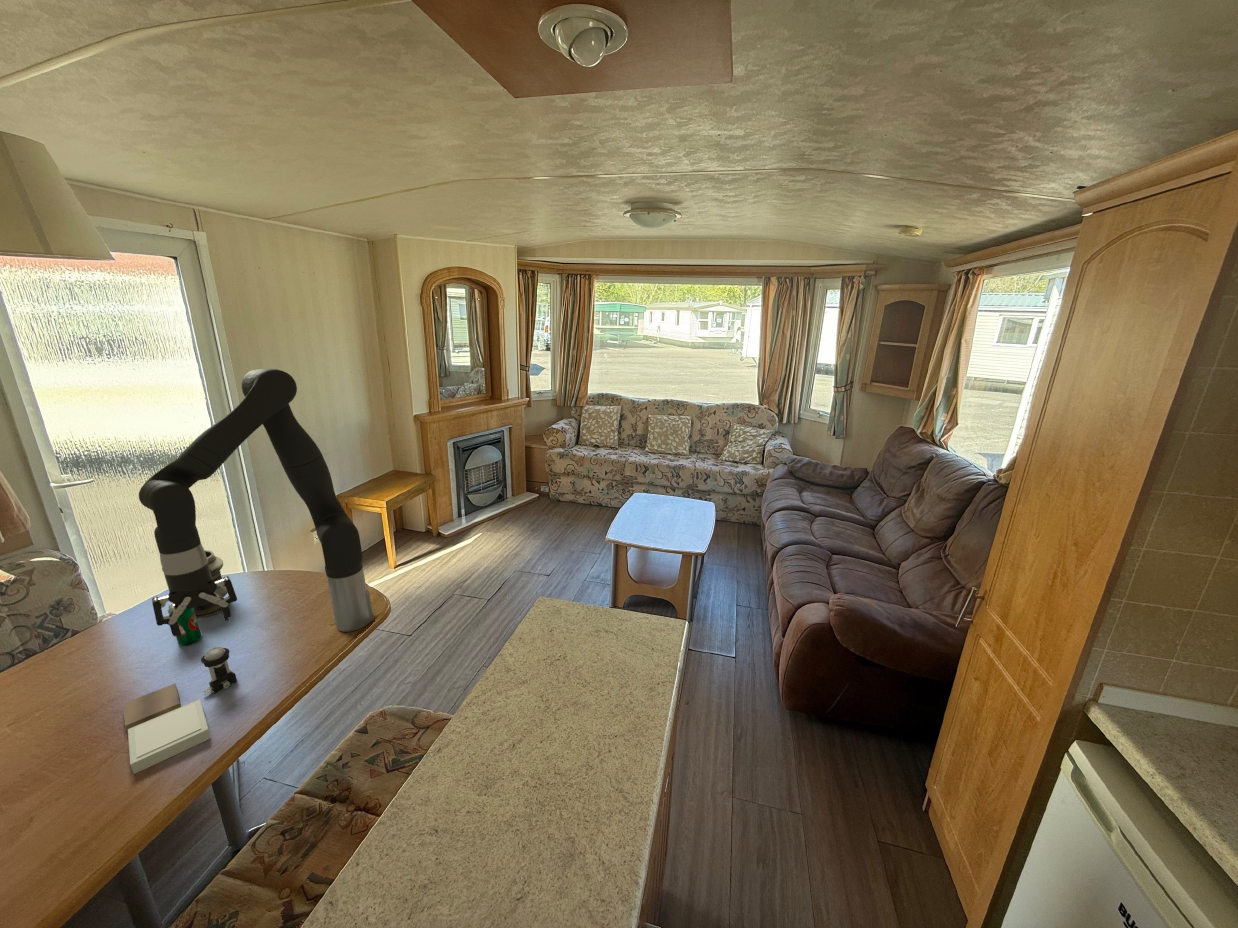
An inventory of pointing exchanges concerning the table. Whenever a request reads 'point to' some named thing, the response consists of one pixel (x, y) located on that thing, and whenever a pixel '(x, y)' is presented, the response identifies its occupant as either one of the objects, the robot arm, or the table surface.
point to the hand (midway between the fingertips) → (203, 627)
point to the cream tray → (167, 735)
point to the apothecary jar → (210, 607)
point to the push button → (218, 669)
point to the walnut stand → (151, 706)
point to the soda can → (187, 627)
